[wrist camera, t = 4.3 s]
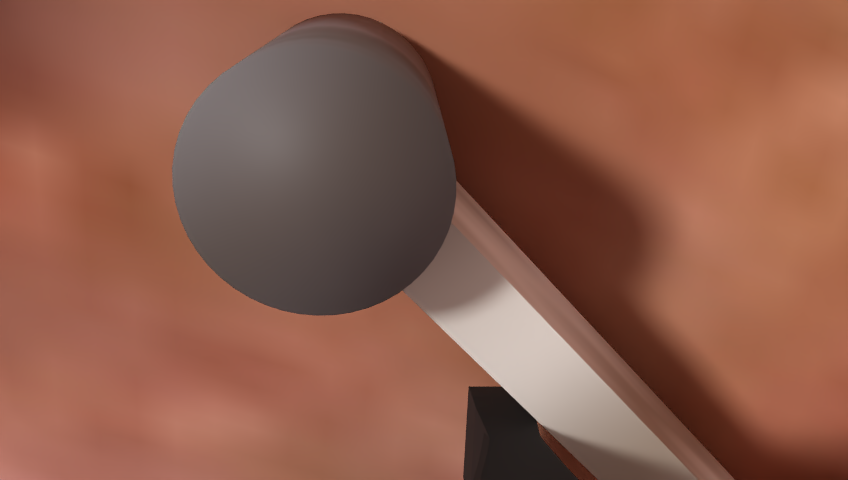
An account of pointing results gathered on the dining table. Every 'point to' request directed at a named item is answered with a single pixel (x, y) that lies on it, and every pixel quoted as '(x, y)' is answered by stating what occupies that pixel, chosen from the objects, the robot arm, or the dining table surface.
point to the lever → (399, 234)
